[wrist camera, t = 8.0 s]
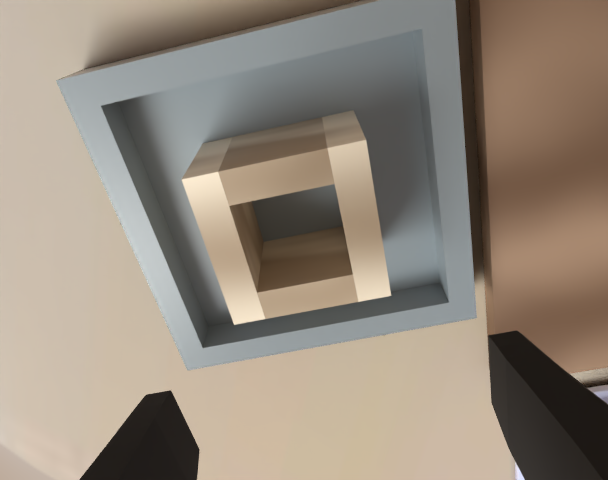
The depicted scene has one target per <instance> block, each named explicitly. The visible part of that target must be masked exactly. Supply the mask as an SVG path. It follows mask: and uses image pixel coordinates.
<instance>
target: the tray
mask: <svg viewBox="0 0 608 480" xmlns="http://www.w3.org/2000/svg"><path fill="white" fill-rule="evenodd" d="M56 81H57V84H58V86H59V88H60V90H61V93H62V95H63V97H64V99H65V101H66V104H67V106H68V108H69V110H70V112H71V115H72V117H73V119H74V121H75V123H76V126H77V128H78V130H79V132H80V134H81V137H82V139H83V141H84V143H85V145H86V148H87V150H88V152H89V154H90V156H91V159H92V161H93V163H94V165H95V168H96V170H97V172H98V174H99V176H100V179H101V181H102V183H103V185H104V187H105V190H106V192H107V194H108V196H109V198H110V201H111V203H112V205H113V207H114V209H115V212H116V214H117V216H118V218H119V220H120V223H121V225H122V227H123V229H124V231H125V234H126V236H127V238H128V240H129V243H130V245H131V247H132V249H133V251H134V254H135V256H136V258H137V260H138V262H139V265H140V267H141V269H142V271H143V273H144V276H145V278H146V280H147V282H148V284H149V287H150V289H151V291H152V293H153V295H154V298H155V300H156V302H157V304H158V306H159V309H160V311H161V313H162V315H163V318H164V320H165V322H166V324H167V326H168V329H169V331H170V333H171V335H172V337H173V340H174V342H175V344H176V346H177V348H178V351H179V353H180V355H181V357H182V359H183V362H184V364H185V366H186V368H187V370H193V369H198V368H204V367H209V366H215V365H220V364H226V363H231V362H237V361H242V360H248V359H253V358H259V357H264V356H270V355H275V354H281V353H286V352H292V351H298V350H303V349H309V348H314V347H320V346H325V345H331V344H336V343H342V342H347V341H353V340H358V339H364V338H369V337H375V336H380V335H386V334H391V333H397V332H402V331H408V330H413V329H419V328H424V327H430V326H435V325H441V324H446V323H452V322H457V321H463V320H468V319H474V318H477V316H476V301H475V286H474V271H473V256H472V241H471V227H470V212H469V197H468V182H467V167H466V152H465V137H464V122H463V108H462V93H461V78H460V63H459V48H458V33H457V18H456V3H455V0H361V1H357V2H353V3H349V4H345V5H341V6H337V7H333V8H329V9H325V10H321V11H317V12H313V13H309V14H305V15H301V16H297V17H293V18H289V19H285V20H281V21H277V22H273V23H269V24H265V25H261V26H257V27H253V28H249V29H244V30H240V31H236V32H232V33H228V34H224V35H220V36H216V37H212V38H208V39H204V40H200V41H196V42H192V43H188V44H184V45H180V46H176V47H172V48H168V49H164V50H160V51H156V52H152V53H148V54H144V55H140V56H136V57H132V58H128V59H124V60H120V61H116V62H112V63H108V64H104V65H100V66H96V67H92V68H88V69H84V70H81V71H78V72H76V73H73V74H71V75H68V76H66V77H64V78H61V79H59V80H56ZM352 110H354V113H355V115H356V117H357V120H358V122H359V124H360V127H361V129H362V131H363V134H364V136H365V138H366V142H367V148H368V154H369V160H370V167H371V173H372V179H373V185H374V191H375V198H376V204H377V210H378V216H379V222H380V229H381V235H382V241H383V247H384V254H385V260H386V266H387V272H388V278H389V285H390V291H391V296H388V297H382V298H377V299H371V300H366V301H361V302H355V303H350V304H344V305H339V306H333V307H328V308H323V309H317V310H312V311H306V312H301V313H295V314H290V315H285V316H279V317H274V318H268V319H263V320H257V321H252V322H247V323H241V324H236V325H234V323H233V320H232V318H231V315H230V312H229V309H228V307H227V304H226V301H225V298H224V296H223V293H222V290H221V287H220V285H219V282H218V279H217V276H216V273H215V271H214V268H213V265H212V262H211V260H210V257H209V254H208V251H207V249H206V246H205V243H204V240H203V238H202V235H201V232H200V229H199V227H198V224H197V221H196V218H195V216H194V213H193V210H192V207H191V205H190V202H189V199H188V196H187V193H186V191H185V188H184V185H183V182H182V178H183V176H184V174H185V173H186V171H187V169H188V168H189V166H190V164H191V163H192V161H193V159H194V157H195V156H196V154H197V152H198V151H199V149H200V147H201V145H202V144H203V143H208V142H212V141H217V140H221V139H226V138H230V137H235V136H239V135H244V134H248V133H253V132H257V131H262V130H266V129H271V128H275V127H280V126H284V125H289V124H293V123H298V122H302V121H307V120H311V119H316V118H320V117H325V116H329V115H334V114H338V113H343V112H348V111H352ZM252 204H253V208H254V211H255V215H256V218H257V221H258V225H259V228H260V231H261V235H262V238H263V242H266V241H271V240H276V239H281V238H286V237H291V236H296V235H301V234H306V233H311V232H316V231H321V230H326V229H331V228H336V227H341V226H343V223H342V218H341V213H340V208H339V203H338V198H337V193H336V188H335V184H332V185H327V186H322V187H318V188H313V189H308V190H303V191H298V192H294V193H289V194H284V195H279V196H274V197H270V198H265V199H260V200H255V201H252Z"/></svg>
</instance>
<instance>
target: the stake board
mask: <svg viewBox="0 0 608 480" xmlns="http://www.w3.org/2000/svg"><path fill="white" fill-rule="evenodd" d="M469 4H470V22H471V41H472V59H473V77H474V95H475V114H476V132H477V150H478V168H479V187H480V205H481V223H482V241H483V260H484V278H485V296H486V314H487V333H488V335H493V334H499V333H504V332H510V331H516V330H517V331H519V332H520V333H522V334H523V335H524V336H525V337H526V338H527V339H529V340H530V341H531V342H532V343H533V344H534V345H536V346H537V347H538V348H539V349H540V350H541V351H542V352H544V353H545V354H546V355H547V356H548V357H550V358H551V359H552V360H553V361H554V362H555V363H557V364H558V365H559V366H560V367H562V368H563V369H564V370H565V371H566V372H568V373H569V374H570V373H576V372H582V371H588V370H594V369H600V368H606V367H608V0H469ZM488 351H489V345H488ZM489 369H490V363H489Z"/></svg>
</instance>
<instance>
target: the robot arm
mask: <svg viewBox="0 0 608 480" xmlns="http://www.w3.org/2000/svg"><path fill="white" fill-rule="evenodd" d="M488 345H489V363H490V382H491V400H492V405H493V408H494V410H495V413H496V416H497V419H498V421H499V424H500V427H501V429H502V432H503V434H504V437H505V440H506V442H507V445H508V447H509V449H510V452H511V454H512V456H513V458H514V460H515V479H516V480H608V385H602V386H596V387H590V388H586V387H585V386H584V385H583V384H581V383H580V382H579V381H577V380H576V379H575V378H574V377H573V376H571V375H570V374H569V373H568V372H566V371H565V370H564V369H563V368H562V367H560V366H559V365H558V364H557V363H555V362H554V361H553V360H552V359H551V358H550V357H548V356H547V355H546V354H545V353H544V352H542V351H541V350H540V349H539V348H538V347H537V346H536V345H534V344H533V343H532V342H531V341H530V340H529V339H527V338H526V337H525V336H524V335H523V334H522V333H520V332H519V331H517V330H516V331H510V332H504V333H499V334H493V335H488ZM198 460H199V448H198V446H197V443H196V441H195V439H194V437H193V435H192V433H191V431H190V429H189V427H188V425H187V423H186V421H185V419H184V416H183V414H182V412H181V410H180V408H179V406H178V404H177V402H176V400H175V398H174V396H173V394H172V392H171V391H165V392H159V393H154V394H148V395H146V396H145V397H144V398H143V399H142V400H141V402H140V403H139V404H138V405H137V407H136V408H135V409H134V410H133V412H132V413H131V414H130V416H129V417H128V418H127V420H126V421H125V422H124V423H123V425H122V426H121V427H120V429H119V430H118V431H117V433H116V434H115V435H114V436H113V438H112V439H111V440H110V442H109V443H108V444H107V445H106V447H105V448H104V449H103V451H102V452H101V453H100V454H99V456H98V457H97V458H96V459H95V461H94V462H93V463H92V465H91V466H90V467H89V468H88V470H87V471H86V472H85V473H84V475H83V476H82V477H81V478H80V480H197V472H198Z"/></svg>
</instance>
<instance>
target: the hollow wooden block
mask: <svg viewBox="0 0 608 480" xmlns="http://www.w3.org/2000/svg"><path fill="white" fill-rule="evenodd" d="M182 182H183V185H184V188H185V191H186V193H187V196H188V199H189V202H190V205H191V207H192V210H193V213H194V216H195V218H196V221H197V224H198V227H199V229H200V232H201V235H202V238H203V240H204V243H205V246H206V249H207V251H208V254H209V257H210V260H211V262H212V265H213V268H214V271H215V273H216V276H217V279H218V282H219V285H220V287H221V290H222V293H223V296H224V298H225V301H226V304H227V307H228V309H229V312H230V315H231V318H232V320H233V323H234V325H236V324H241V323H247V322H252V321H257V320H263V319H268V318H274V317H279V316H285V315H290V314H295V313H301V312H306V311H312V310H317V309H323V308H328V307H333V306H339V305H344V304H350V303H355V302H361V301H366V300H371V299H377V298H382V297H388V296H391V291H390V285H389V278H388V272H387V266H386V260H385V254H384V247H383V241H382V235H381V229H380V222H379V216H378V210H377V204H376V198H375V191H374V185H373V179H372V173H371V167H370V160H369V154H368V148H367V142H366V138H365V136H364V134H363V131H362V129H361V127H360V124H359V122H358V120H357V117H356V115H355V113H354V110H352V111H348V112H343V113H338V114H334V115H329V116H325V117H320V118H316V119H311V120H307V121H302V122H298V123H293V124H289V125H284V126H280V127H275V128H271V129H266V130H262V131H257V132H253V133H248V134H244V135H239V136H235V137H230V138H226V139H221V140H217V141H212V142H208V143H203V144H202V145H201V147H200V149H199V151H198V152H197V154H196V156H195V157H194V159H193V161H192V163H191V164H190V166H189V168H188V169H187V171H186V173H185V174H184V176H183V178H182ZM332 184H335V188H336V193H337V198H338V203H339V208H340V213H341V218H342V223H343V226H341V227H336V228H331V229H326V230H321V231H316V232H311V233H306V234H301V235H296V236H291V237H286V238H281V239H276V240H271V241H266V242H263V238H262V235H261V231H260V228H259V225H258V221H257V218H256V215H255V211H254V208H253V204H252V201H255V200H260V199H265V198H270V197H274V196H279V195H284V194H289V193H294V192H298V191H303V190H308V189H313V188H318V187H322V186H327V185H332Z"/></svg>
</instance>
